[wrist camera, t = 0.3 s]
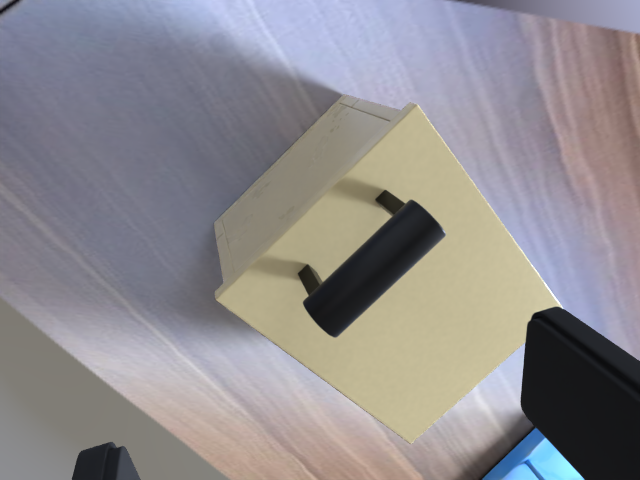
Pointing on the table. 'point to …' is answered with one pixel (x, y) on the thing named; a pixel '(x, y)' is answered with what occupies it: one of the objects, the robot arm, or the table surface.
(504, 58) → the table surface
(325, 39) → the table surface
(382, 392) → the lid
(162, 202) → the table surface
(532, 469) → the file sorter
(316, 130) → the box
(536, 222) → the table surface
